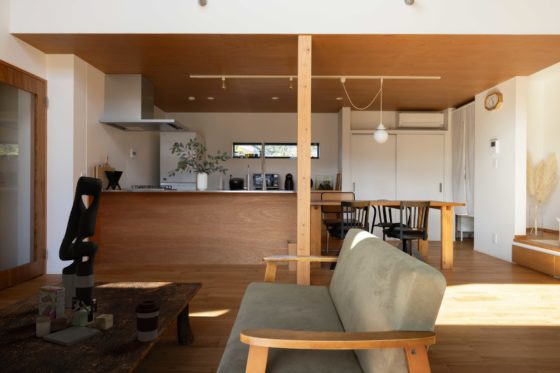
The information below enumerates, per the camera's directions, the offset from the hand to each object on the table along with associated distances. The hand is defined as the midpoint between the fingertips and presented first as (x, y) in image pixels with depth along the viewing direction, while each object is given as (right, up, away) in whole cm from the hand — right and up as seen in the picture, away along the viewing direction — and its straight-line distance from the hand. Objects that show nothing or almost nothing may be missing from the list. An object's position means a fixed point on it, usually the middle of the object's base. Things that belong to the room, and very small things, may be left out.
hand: (83, 320), depth 168 cm
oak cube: (+11, -2, -4) cm, 12 cm away
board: (+3, -1, -15) cm, 15 cm away
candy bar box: (-15, -2, 0) cm, 15 cm away
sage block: (0, -2, 0) cm, 2 cm away
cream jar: (-10, -1, -13) cm, 17 cm away
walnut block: (-8, -2, -6) cm, 10 cm away
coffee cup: (+35, -2, -17) cm, 39 cm away
